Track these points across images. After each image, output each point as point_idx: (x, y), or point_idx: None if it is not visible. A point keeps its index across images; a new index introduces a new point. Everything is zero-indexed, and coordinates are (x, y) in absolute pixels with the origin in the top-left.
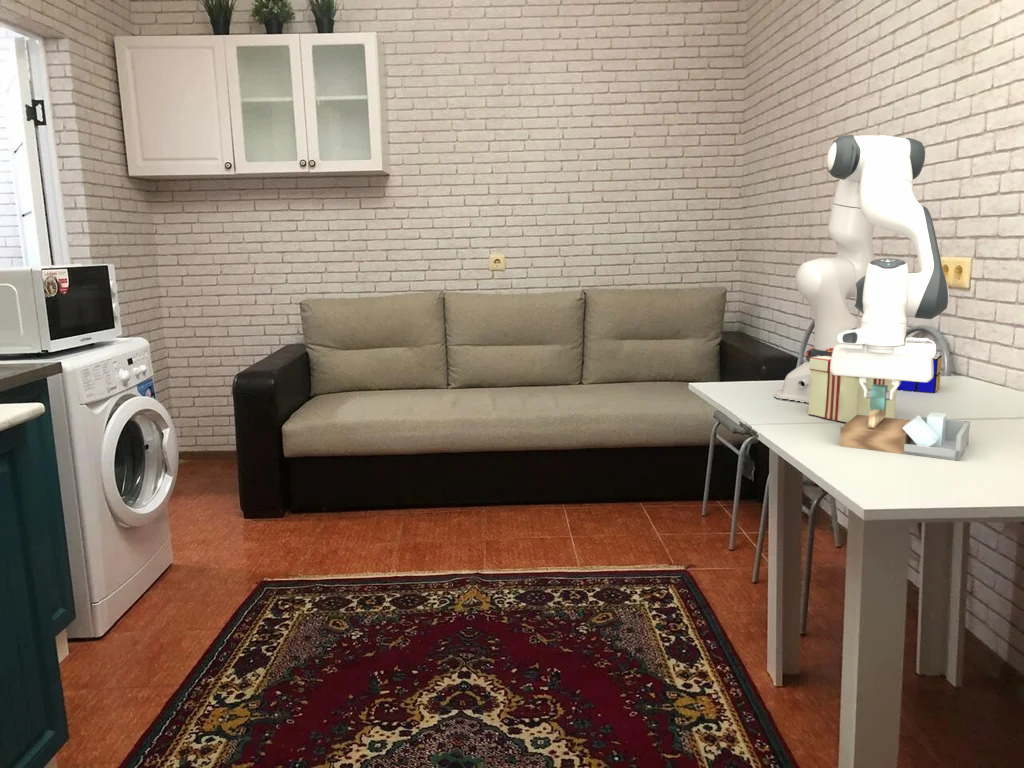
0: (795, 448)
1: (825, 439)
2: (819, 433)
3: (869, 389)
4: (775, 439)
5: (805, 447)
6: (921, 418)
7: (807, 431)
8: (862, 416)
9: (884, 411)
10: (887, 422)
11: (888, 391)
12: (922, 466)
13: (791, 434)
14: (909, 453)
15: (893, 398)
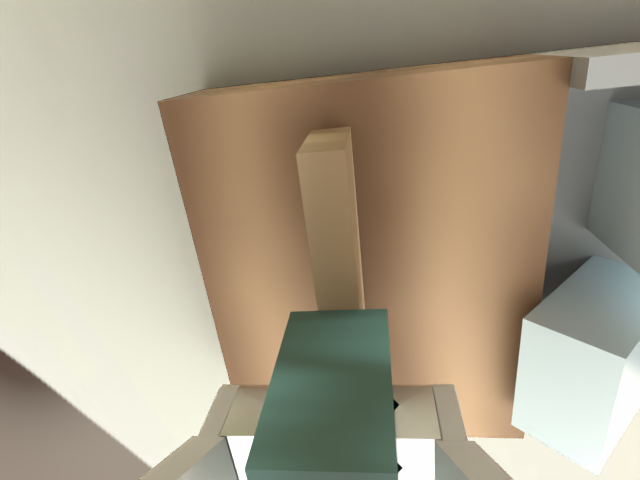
0: (171, 452)
1: (177, 311)
2: (104, 229)
3: (236, 449)
4: (60, 389)
5: (186, 432)
6: (635, 349)
7: (50, 222)
8: (210, 143)
9: (352, 191)
10: (391, 227)
11: (417, 464)
12: (573, 476)
13: (45, 302)
14: None
15: (454, 391)
